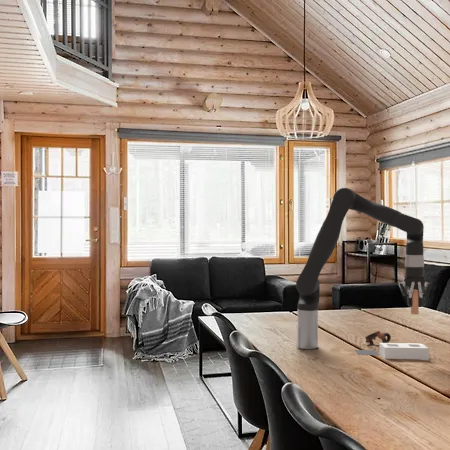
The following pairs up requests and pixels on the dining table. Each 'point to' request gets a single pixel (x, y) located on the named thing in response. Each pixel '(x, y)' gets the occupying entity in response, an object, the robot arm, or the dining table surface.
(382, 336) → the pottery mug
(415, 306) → the dowel
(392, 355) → the socket block
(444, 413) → the dining table surface
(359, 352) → the mat
